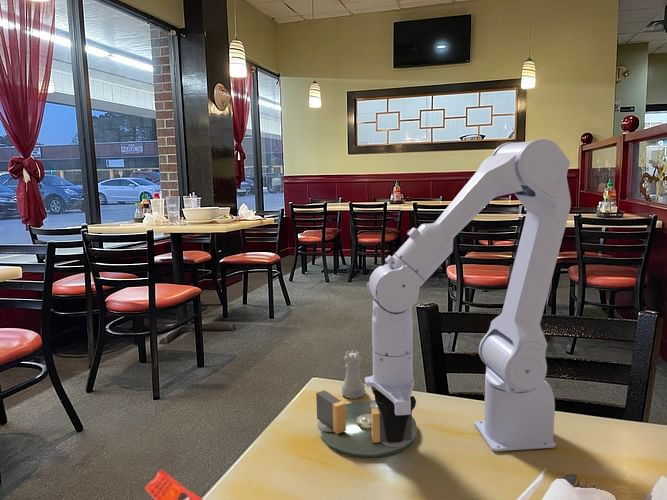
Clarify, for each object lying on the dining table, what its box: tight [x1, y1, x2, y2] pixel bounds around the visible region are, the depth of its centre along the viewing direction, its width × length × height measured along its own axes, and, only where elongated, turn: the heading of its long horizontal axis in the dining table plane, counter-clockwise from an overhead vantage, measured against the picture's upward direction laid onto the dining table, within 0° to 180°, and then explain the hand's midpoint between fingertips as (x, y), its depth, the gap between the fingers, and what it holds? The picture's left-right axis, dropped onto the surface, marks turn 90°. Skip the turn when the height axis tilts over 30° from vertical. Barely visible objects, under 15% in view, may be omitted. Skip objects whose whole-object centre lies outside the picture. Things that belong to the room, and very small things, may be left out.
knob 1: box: [315, 390, 346, 434], centre depth 77 cm, size 6×4×5 cm
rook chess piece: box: [340, 349, 366, 400], centre depth 91 cm, size 4×4×8 cm
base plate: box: [320, 401, 417, 460], centre depth 78 cm, size 15×15×2 cm
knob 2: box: [371, 408, 413, 448], centre depth 73 cm, size 6×4×5 cm
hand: (393, 436), depth 73 cm, fingers closed on knob 2, 2 cm apart
